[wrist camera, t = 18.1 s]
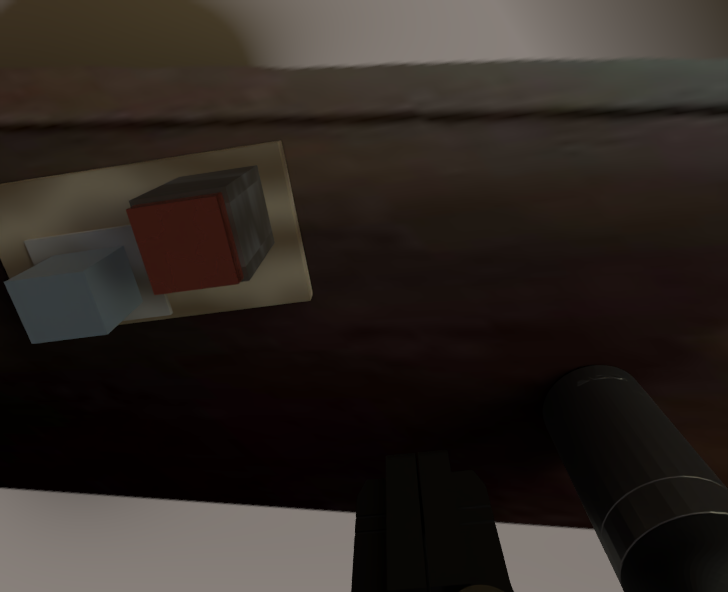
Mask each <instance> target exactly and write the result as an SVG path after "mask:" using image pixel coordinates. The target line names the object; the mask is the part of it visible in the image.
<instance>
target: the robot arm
mask: <svg viewBox="0 0 728 592" xmlns="http://www.w3.org/2000/svg"><path fill="white" fill-rule="evenodd" d="M543 420H544V423H545V426H546V428H547V430H548V432H549V434H550V436H551V438H552V440H553V443H554V445H555V447H556V449H557V451H558V453H559V456H560V458H561V460H562V462H563V464H564V466H565V468H566V470H567V472H568V475H569V477H570V479H571V481H572V483H573V485H574V487H575V489H576V491H577V494H578V496H579V498H580V500H581V502H582V504H583V506H584V508H585V510H586V512H587V515H588V517H589V519H590V521H591V523H592V525H593V527H594V529H595V531H596V534H597V536H598V538H599V540H600V542H601V544H602V546H603V548H604V550H605V553H606V554H607V556H608V558H609V560H610V563H611V565H612V567H613V569H614V571H615V573H616V575H617V577H618V579H619V582H620V584H621V586H622V588H623V591H624V592H728V489H727V488H726V486H725V485H724V484H723V483H722V482H721V481H720V479H719V478H718V477H717V476H716V475H715V473H714V472H713V471H712V470H711V469H710V468H709V466H708V465H707V464H706V463H705V462H704V460H703V459H702V458H701V457H700V456H699V454H698V453H697V452H696V451H695V450H694V449H693V447H692V446H691V445H690V444H689V443H688V441H687V440H686V439H685V438H684V437H683V436H682V434H681V433H680V432H679V431H678V430H677V428H676V427H675V426H674V425H673V424H672V423H671V421H670V420H669V419H668V418H667V417H666V415H665V414H664V413H663V412H662V411H661V410H660V408H659V407H658V406H657V405H656V403H655V402H654V401H653V400H652V399H651V398H650V396H649V395H648V394H647V393H646V392H645V391H644V389H643V388H642V387H641V386H640V385H639V384H638V382H637V381H636V380H635V379H634V378H633V377H632V376H631V375H630V374H628V373H627V372H625V371H624V370H621V369H619V368H616V367H612V366H606V365H593V366H588V367H583V368H580V369H577V370H575V371H572V372H570V373H569V374H567V375H565V376H564V377H562V378H561V379H560V380H559V381H557V382H556V383H555V384H554V385H553V387H552V388H551V389H550V390H549V392H548V394H547V396H546V398H545V400H544V404H543ZM418 461H419V471H420V482H421V489H420V482H419V475H418V468H417V460H416V454H415V453H410V454H399V455H389V456H386V478H383V479H372V480H366V482H365V484H364V486H363V487H362V489H361V491H360V493H359V495H358V496H357V507H356V524H355V540H354V556H353V557H354V558H353V573H352V590H351V592H514V591H513V589H512V586H511V583H510V580H509V576H508V572H507V568H506V565H505V560H504V556H503V552H502V549H501V545H500V541H499V537H498V533H497V529H496V525H495V522H494V517H493V513H492V509H491V506H490V501H489V497H488V493H487V490H486V486H485V484H484V483H483V482H482V481H481V479H480V478H479V477H478V476H477V475H476V474H475V472H474V471H473V470H466V471H456V472H451V468H450V462H449V457H448V451H447V450H439V451H429V452H418ZM421 493H422V496H421ZM422 503H423V504H422Z"/></svg>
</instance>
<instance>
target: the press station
mask: <svg viewBox="0 0 728 592" xmlns="http://www.w3.org/2000/svg"><path fill="white" fill-rule="evenodd" d="M219 192H222V195H223V199H224V203H225V206H226V210H227V214H228V218H229V222H230V226H231V230H232V234H233V237H234V241H235V245H236V249H237V253H238V257H239V261H240V264H241V268H242V272H243V276H244V278H243V279H242V281H241V282H240V283H239V284H236V285H228V286H221V287H213V288H206V289H198V290H190V291H183V292H175V293H167V294H160V295H154V293H153V290H152V287H151V284H150V281H149V278H148V275H147V272H146V269H145V266H144V263H143V260H142V257H141V254H140V251H139V248H138V245H137V242H136V239H135V236H134V233H133V230H132V227H131V224H130V221H129V218H128V215H127V212H126V209H128V208H130V207H132V206H134V205H138V204H145V203H152V202H159V201H165V200H172V199H179V198H186V197H192V196H199V195H206V194H213V193H219ZM116 246H124V248H125V251H126V254H127V257H128V260H129V263H130V266H131V269H132V271H133V274H134V277H135V280H136V283H137V286H138V289H139V292H140V294H141V297H142V300H143V302H142V303H141V304H140V305H139V306H138V307H137V308H136V309H135V310H134V311H132V312H131V313H130V314H129V315H128V316H127V317H126V318H125V319H124V320H123V321H122V322H121V323H119V324H118V325H121V324H129V323H137V322H145V321H153V320H161V319H168V318H176V317H184V316H192V315H200V314H208V313H216V312H224V311H232V310H240V309H248V308H255V307H263V306H271V305H279V304H287V303H295V302H303V301H311V298H312V294H313V292H312V288H311V283H310V278H309V273H308V268H307V263H306V258H305V254H304V249H303V244H302V239H301V234H300V229H299V224H298V219H297V215H296V210H295V205H294V200H293V195H292V190H291V185H290V180H289V176H288V171H287V166H286V161H285V156H284V151H283V146H282V141H281V140H279V141H272V142H266V143H260V144H253V145H247V146H240V147H234V148H228V149H221V150H215V151H208V152H202V153H195V154H189V155H183V156H176V157H170V158H163V159H157V160H150V161H144V162H138V163H131V164H125V165H118V166H112V167H106V168H99V169H93V170H86V171H80V172H73V173H67V174H61V175H54V176H48V177H41V178H35V179H28V180H22V181H16V182H9V183H3V184H0V259H1V261H2V263H3V266H4V268H5V270H6V272H7V274H8V277H9V279H11V278H12V277H14V276H16V275H18V274H20V273H22V272H24V271H26V270H27V269H29V268H31V267H33V266H35V265H37V264H39V263H41V262H42V261H44V260H46V259H48V258H50V257H52V256H54V255H60V254H67V253H74V252H81V251H88V250H95V249H102V248H109V247H116Z"/></svg>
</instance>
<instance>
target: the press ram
mask: <svg viewBox="0 0 728 592" xmlns="http://www.w3.org/2000/svg"><path fill="white" fill-rule="evenodd" d="M126 212H127V215H128V218H129V221H130V224H131V227H132V230H133V233H134V236H135V239H136V242H137V245H138V248H139V251H140V254H141V257H142V260H143V263H144V266H145V269H146V272H147V275H148V278H149V281H150V284H151V287H152V290H153V293H154V295H160V294H167V293H175V292H183V291H190V290H198V289H206V288H213V287H221V286H228V285H236V284H239V283H240V282H241V281H242V279H243V278H244V276H243V272H242V268H241V264H240V261H239V257H238V253H237V249H236V245H235V241H234V237H233V234H232V230H231V226H230V222H229V218H228V214H227V210H226V206H225V203H224V199H223V195H222V192H219V193H213V194H206V195H199V196H192V197H186V198H179V199H172V200H165V201H159V202H152V203H145V204H138V205H134V206H132V207H130V208H128V209H126Z"/></svg>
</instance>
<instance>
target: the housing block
mask: <svg viewBox="0 0 728 592" xmlns="http://www.w3.org/2000/svg"><path fill="white" fill-rule="evenodd" d="M4 284H5V286H6V288H7V290H8V293H9V295H10V297H11V299H12V301H13V304H14V306H15V308H16V310H17V312H18V315H19V317H20V319H21V321H22V323H23V326H24V328H25V330H26V332H27V334H28V336H29V339H30V341H31V343H32V344H35V343H43V342H51V341H59V340H67V339H75V338H83V337H91V336H99V335H107V334H109V333H110V332H111V331H112V330H113V329H114V328H115V327H116V326H117V325H118V324H119V323H121V322H122V321H123V320H124V319H125V318H126V317H127V316H128V315H129V314H130V313H131V312H132V311H134V310H135V309H136V308H137V307H138V306H139V305H140V304H141V303H142V302H143V300H142V297H141V294H140V292H139V289H138V286H137V283H136V280H135V277H134V274H133V271H132V269H131V266H130V263H129V260H128V257H127V254H126V251H125V248H124V246H116V247H109V248H102V249H95V250H88V251H81V252H74V253H67V254H60V255H54V256H52V257H50V258H48V259H46V260H44V261H42V262H41V263H39V264H37V265H35V266H33V267H31V268H29V269H27V270H26V271H24V272H22V273H20V274H18V275H16V276H14V277H12V278H11V279H9V280H7V281H5V282H4Z"/></svg>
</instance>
